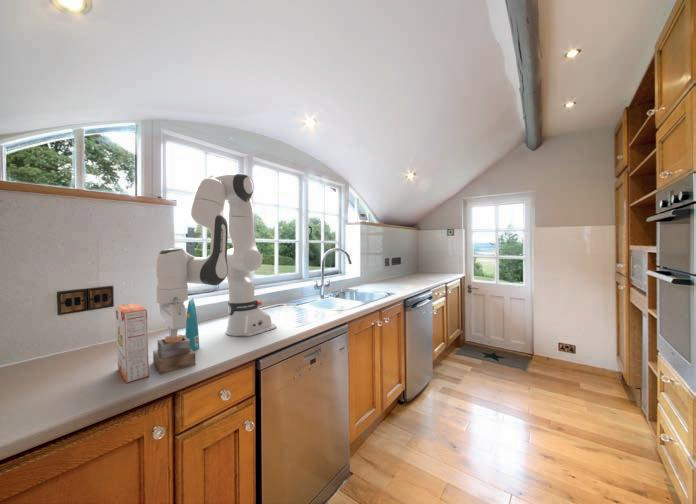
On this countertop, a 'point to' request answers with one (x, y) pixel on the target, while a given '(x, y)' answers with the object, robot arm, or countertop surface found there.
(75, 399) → the countertop surface
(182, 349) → the grey stepped open box
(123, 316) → the cracker box
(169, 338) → the push button
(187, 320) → the tube
